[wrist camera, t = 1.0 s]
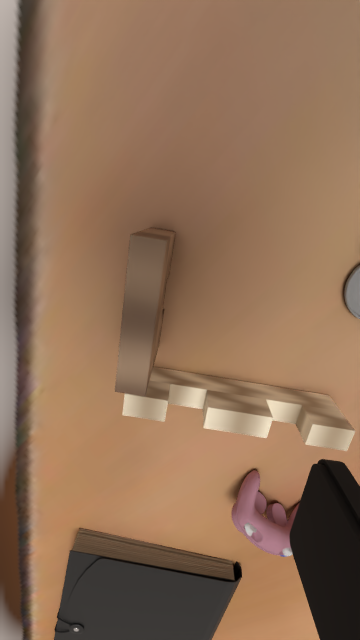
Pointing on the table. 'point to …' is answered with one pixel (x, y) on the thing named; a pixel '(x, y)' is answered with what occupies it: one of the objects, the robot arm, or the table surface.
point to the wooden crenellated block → (243, 407)
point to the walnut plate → (143, 308)
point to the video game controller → (262, 518)
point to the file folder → (142, 591)
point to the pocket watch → (353, 292)
